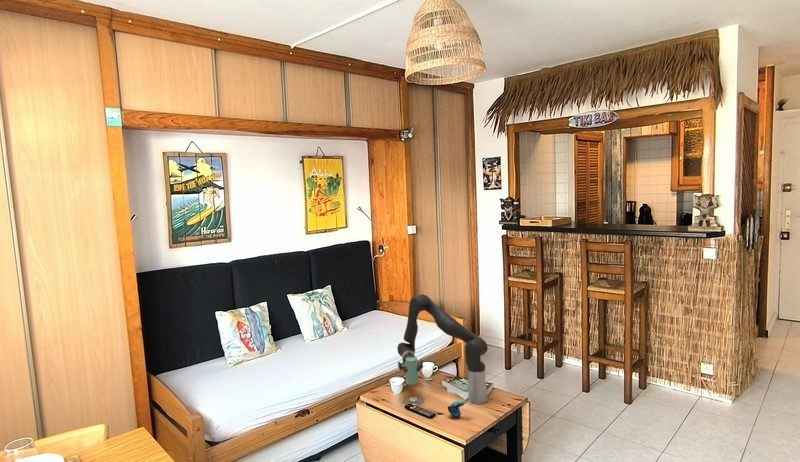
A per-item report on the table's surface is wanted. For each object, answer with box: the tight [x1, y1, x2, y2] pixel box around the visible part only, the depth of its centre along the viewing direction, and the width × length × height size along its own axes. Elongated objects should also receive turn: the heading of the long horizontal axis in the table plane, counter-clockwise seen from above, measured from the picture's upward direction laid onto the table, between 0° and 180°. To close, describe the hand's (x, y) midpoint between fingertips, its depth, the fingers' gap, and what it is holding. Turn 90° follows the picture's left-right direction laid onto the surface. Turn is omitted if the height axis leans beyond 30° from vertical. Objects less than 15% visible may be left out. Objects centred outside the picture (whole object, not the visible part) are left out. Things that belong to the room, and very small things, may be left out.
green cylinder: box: [405, 356, 419, 385], centre depth 259 cm, size 6×6×13 cm
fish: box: [447, 398, 469, 419], centre depth 241 cm, size 4×10×10 cm, turn 78°
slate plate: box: [402, 396, 424, 407], centre depth 261 cm, size 11×11×1 cm
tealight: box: [410, 396, 417, 403], centre depth 260 cm, size 4×4×2 cm
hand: (412, 370), depth 257 cm, fingers closed on green cylinder, 6 cm apart
